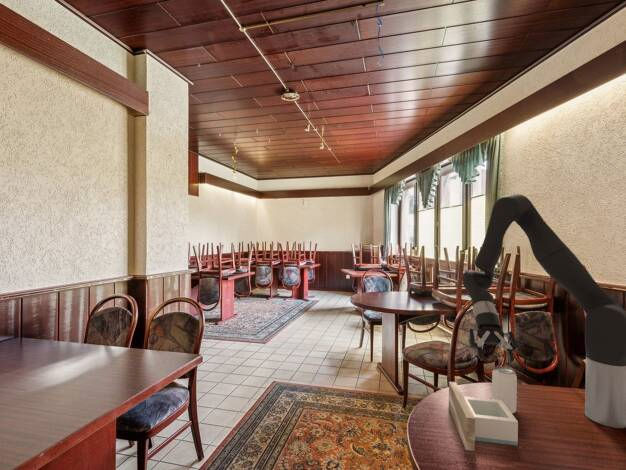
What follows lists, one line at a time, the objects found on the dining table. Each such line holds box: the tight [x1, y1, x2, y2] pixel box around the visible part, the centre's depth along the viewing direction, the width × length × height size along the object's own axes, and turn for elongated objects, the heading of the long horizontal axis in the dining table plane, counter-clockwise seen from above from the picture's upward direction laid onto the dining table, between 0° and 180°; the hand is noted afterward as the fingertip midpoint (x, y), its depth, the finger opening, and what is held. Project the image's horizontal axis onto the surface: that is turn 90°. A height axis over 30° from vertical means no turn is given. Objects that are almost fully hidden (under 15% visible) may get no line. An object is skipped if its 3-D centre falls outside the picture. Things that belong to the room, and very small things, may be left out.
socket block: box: [464, 396, 519, 446], centre depth 89 cm, size 11×11×6 cm
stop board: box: [448, 381, 476, 452], centre depth 91 cm, size 2×20×8 cm, turn 169°
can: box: [491, 365, 518, 415], centre depth 100 cm, size 6×6×12 cm
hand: (496, 361), depth 107 cm, fingers open, 8 cm apart
